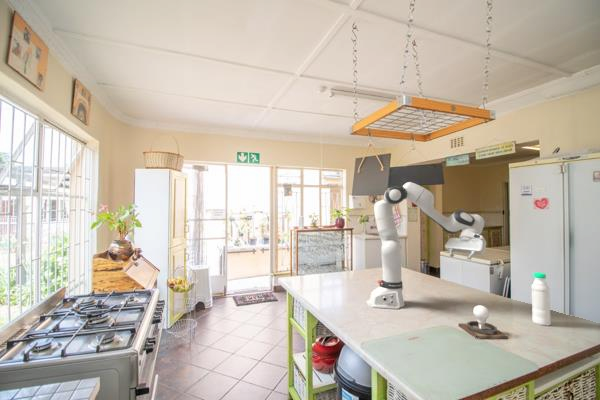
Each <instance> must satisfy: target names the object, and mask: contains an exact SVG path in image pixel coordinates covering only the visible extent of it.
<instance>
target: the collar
mask: <svg viewBox="0 0 600 400" xmlns="http://www.w3.org/2000/svg"><path fill="white" fill-rule="evenodd" d="M471 325H478V321H477V320H471V321H467V328H468V329H469V330H471V331H473V332H476V333H479V334H484V335H495V334H497V330H498V328H497V326H495V325H494V324H491V323H488V322H486V323H485V326H486V327H489V328H491V329H493V330H492V331H486V330H480V329H477V328H474V327H472V326H471Z"/></svg>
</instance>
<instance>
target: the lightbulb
mask: <svg viewBox="0 0 600 400" xmlns="http://www.w3.org/2000/svg"><path fill="white" fill-rule="evenodd" d="M472 313H473V316H474V317H475V318H476V321H478V325H479V327H478V328H479V329H481V330H484V329H485V323H487V320H488V318H490V310H489V309H488V308H487V307H486V306H484V305H475V306H474V307H473V310H472Z"/></svg>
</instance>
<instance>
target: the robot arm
mask: <svg viewBox="0 0 600 400" xmlns="http://www.w3.org/2000/svg"><path fill="white" fill-rule="evenodd" d="M404 200H407V201H410V202H411V203H412V204H414V205H416V206H417V207H419V209H420V210H421V211H422V213H423V214H424V215H425V216H427V217H428V218H429V219H431V220H432V221H433V222H435V223H436V224H437V225H439V226H440V228H442V230H443V231H444V232H445V233H447V234H449V235H455V234H457V233H458V232H460V231H461V230H462V231H461V233H460V235H459V237H453V236H452V237H449V239H448V240H447V242H446V243H445V244H444V248H445V250H446V251H447V252H449V255H448V256H449V257H450V258H454V256H455V254H454V253H463V254H467V256H466V259H467V260H469V261H470V260H472V258H473V257H475V256H476V255H480V256H483V255H484V254H485V253H486V250H487V249H486V248H487V241H486V239H485V237H484V236H483V235H481V234H482V232H483V230H484V227H485V219H484V218H483V216H481V215H480V214H477V213H475V214H472V213H468V212H466V211H464V210H461V209H459V210H456V211H455V212H453V213H452V214H451V215H449V216H444V215H443V214H442V213H440V212H439V211H438V210H437V209H436V208H435V207H434V205H435V197H434V193H432V192H431V191H430V190H428V189H427V188H425V187H423V186H421V185H419V184H417V183H414V182H412V181H408V182H405V183H404V184H403V185H402V186H396V185H395V186H391V187H389V188H387V189H386V190H385V191H384V195H383V198H382V200H381V199H380V200H378V201H376V202H375V203H374V205H373V212H374V219H375V224H376V227H377V232H378V235H379V238H380V241H381V242H380V243H381V248H380V255H381V256H380V257H381V266H382V269H381V270H382V279H377V283H378V284H379V286H378V287H376V288H375V289H374V290H372V291H371V292H370V296H369V298H367V299H366V304H367V305H368V306H369V307H371V308H373V309H374V308H376V309H389V310H390V309H392V310H394V309H395V310H399V309H401V308H403V307H405V306H406V304H405V300H404V295H403V294H404V293H403V288H404V287H403V286H404V285H403V281H402V257H401V255H402V254H401V250H402V246H401V245H402V244H401V241H400V237H399V234H398V230H397V227H396V221H395V218H394V213H393V207H394V206H397V205H399V204H400V203H401V202H403V201H404Z"/></svg>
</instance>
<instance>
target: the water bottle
mask: <svg viewBox="0 0 600 400" xmlns="http://www.w3.org/2000/svg"><path fill="white" fill-rule="evenodd" d="M532 275H533V278H534V280H533V282H532V284H531V285H530V289H531V293H530V294H531V306H532V309H531V313H532V315H531V318H532V319H531V320H532V322H533V323H534V324H536V325H539V326H544V327H546V326H547V327H549V326H551V324H552V319H551V297H550V287H549V285H548V284H547V282H546V278H547V277H546V273H544V272H537V271H535V272H533V274H532Z"/></svg>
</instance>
